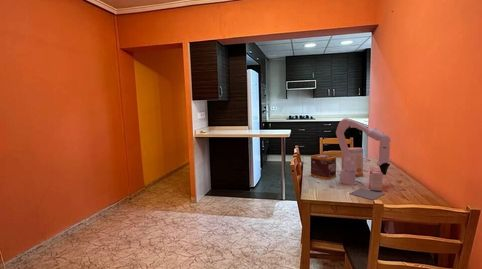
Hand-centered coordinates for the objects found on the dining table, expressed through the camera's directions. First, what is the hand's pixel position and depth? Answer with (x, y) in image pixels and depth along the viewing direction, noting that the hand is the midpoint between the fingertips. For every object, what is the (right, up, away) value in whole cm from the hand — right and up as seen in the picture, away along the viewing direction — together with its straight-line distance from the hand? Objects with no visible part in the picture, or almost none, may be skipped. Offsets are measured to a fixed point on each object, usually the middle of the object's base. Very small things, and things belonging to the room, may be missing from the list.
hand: (383, 174), depth 161 cm
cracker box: (-8, -5, +28) cm, 30 cm away
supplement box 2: (-9, -9, -6) cm, 14 cm away
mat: (-17, -10, -12) cm, 23 cm away
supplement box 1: (-29, -6, +29) cm, 41 cm away
